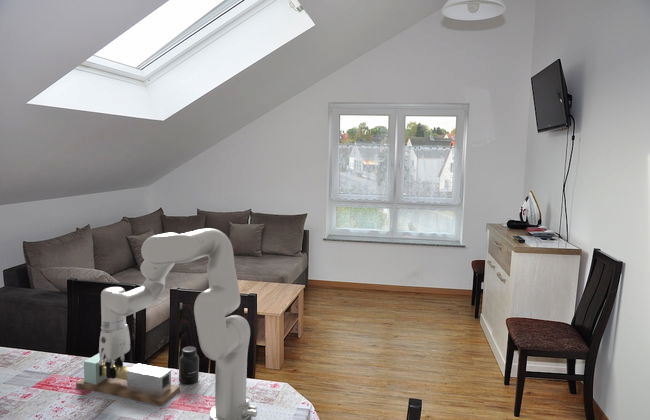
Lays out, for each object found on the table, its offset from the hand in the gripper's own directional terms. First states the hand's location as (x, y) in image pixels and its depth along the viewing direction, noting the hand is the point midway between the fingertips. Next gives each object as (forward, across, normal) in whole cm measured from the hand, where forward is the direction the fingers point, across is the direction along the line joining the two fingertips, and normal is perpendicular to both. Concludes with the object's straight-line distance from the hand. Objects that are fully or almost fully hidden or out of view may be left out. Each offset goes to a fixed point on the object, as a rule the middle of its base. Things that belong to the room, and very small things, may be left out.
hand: (114, 374), depth 154 cm
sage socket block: (+3, 0, +7) cm, 8 cm away
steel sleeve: (+3, 0, -14) cm, 14 cm away
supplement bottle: (+5, +12, -21) cm, 25 cm away
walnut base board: (+4, 0, -5) cm, 7 cm away
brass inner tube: (0, 0, -5) cm, 5 cm away
